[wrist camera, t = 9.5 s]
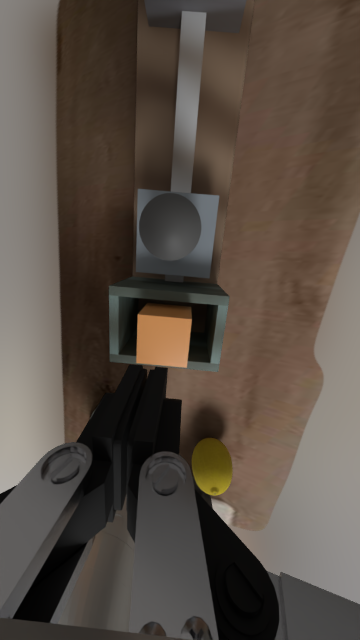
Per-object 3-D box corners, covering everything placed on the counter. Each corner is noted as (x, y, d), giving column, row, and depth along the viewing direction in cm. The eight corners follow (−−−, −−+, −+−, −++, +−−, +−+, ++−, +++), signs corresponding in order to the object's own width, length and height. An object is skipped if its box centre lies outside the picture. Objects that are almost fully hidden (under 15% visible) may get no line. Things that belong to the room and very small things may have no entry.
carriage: (206, 274, 24) (217, 287, 15) (143, 269, 25) (115, 278, 15) (214, 205, 22) (233, 169, 13) (146, 199, 23) (115, 159, 13)
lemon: (184, 441, 34) (182, 494, 27) (208, 419, 33) (214, 469, 25) (209, 459, 35) (215, 516, 28) (234, 439, 34) (247, 493, 26)
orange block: (187, 347, 21) (186, 367, 17) (145, 343, 21) (136, 363, 17) (191, 306, 20) (191, 319, 16) (147, 302, 20) (137, 314, 16)
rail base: (208, 335, 29) (218, 371, 20) (131, 328, 29) (105, 361, 20) (251, 6, 20) (305, -205, 11) (137, -3, 20) (95, -218, 11)
